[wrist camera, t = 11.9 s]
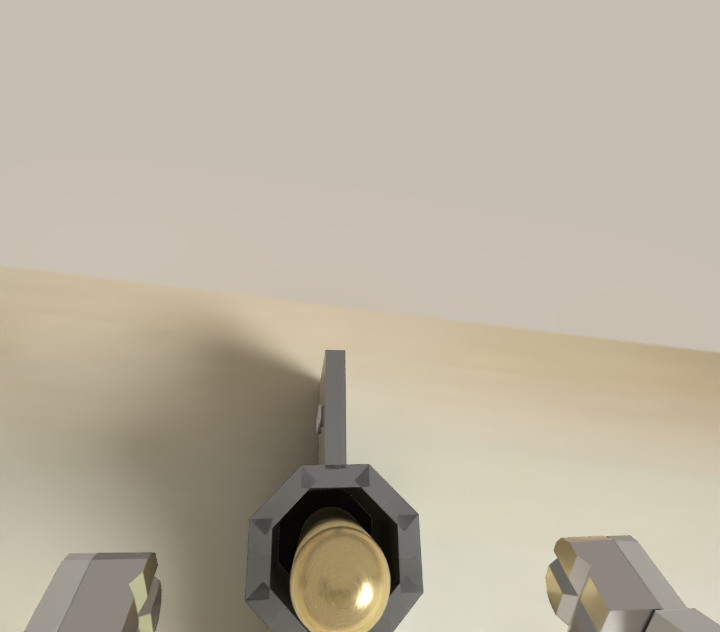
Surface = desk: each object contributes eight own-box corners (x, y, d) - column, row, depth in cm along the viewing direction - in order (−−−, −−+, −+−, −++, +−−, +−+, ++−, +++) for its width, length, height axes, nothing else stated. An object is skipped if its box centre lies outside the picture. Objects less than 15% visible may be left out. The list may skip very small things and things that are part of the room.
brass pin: (361, 506, 24) (396, 530, 13) (361, 573, 23) (399, 655, 12) (300, 507, 24) (288, 532, 13) (298, 575, 23) (284, 660, 12)
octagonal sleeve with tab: (382, 387, 26) (409, 351, 20) (394, 724, 21) (437, 826, 14) (269, 386, 26) (259, 349, 19) (253, 735, 20) (231, 848, 14)
